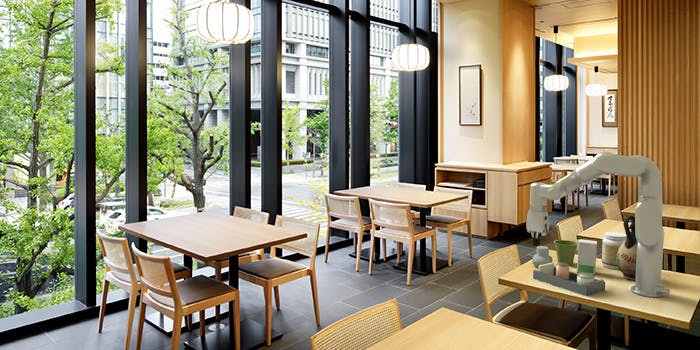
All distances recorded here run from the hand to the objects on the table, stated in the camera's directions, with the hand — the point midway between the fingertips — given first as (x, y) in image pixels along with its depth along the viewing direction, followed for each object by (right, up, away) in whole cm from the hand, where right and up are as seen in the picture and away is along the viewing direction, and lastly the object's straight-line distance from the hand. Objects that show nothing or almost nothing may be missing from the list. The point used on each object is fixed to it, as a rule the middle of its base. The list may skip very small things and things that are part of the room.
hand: (536, 245), depth 241 cm
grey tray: (+9, -16, -14) cm, 23 cm away
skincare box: (+26, -14, +4) cm, 30 cm away
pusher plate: (+2, -14, -2) cm, 14 cm away
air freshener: (+9, -13, +14) cm, 21 cm away
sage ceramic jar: (+14, -17, -22) cm, 30 cm away
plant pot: (+22, -12, +19) cm, 32 cm away
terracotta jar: (+8, -16, -11) cm, 21 cm away
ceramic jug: (+43, -15, -6) cm, 46 cm away
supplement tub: (+44, -13, +12) cm, 48 cm away
